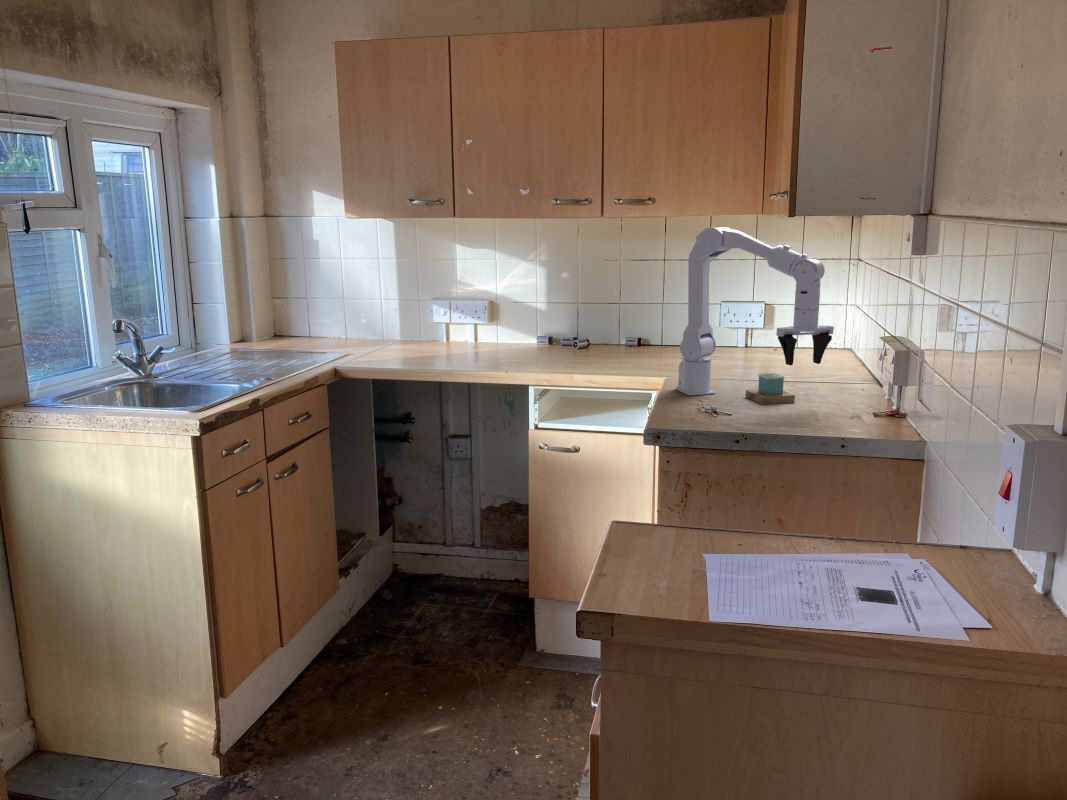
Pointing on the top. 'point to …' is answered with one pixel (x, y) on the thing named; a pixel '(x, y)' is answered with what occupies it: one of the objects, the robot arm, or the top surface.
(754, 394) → the walnut block
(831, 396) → the top surface
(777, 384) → the teal tin
